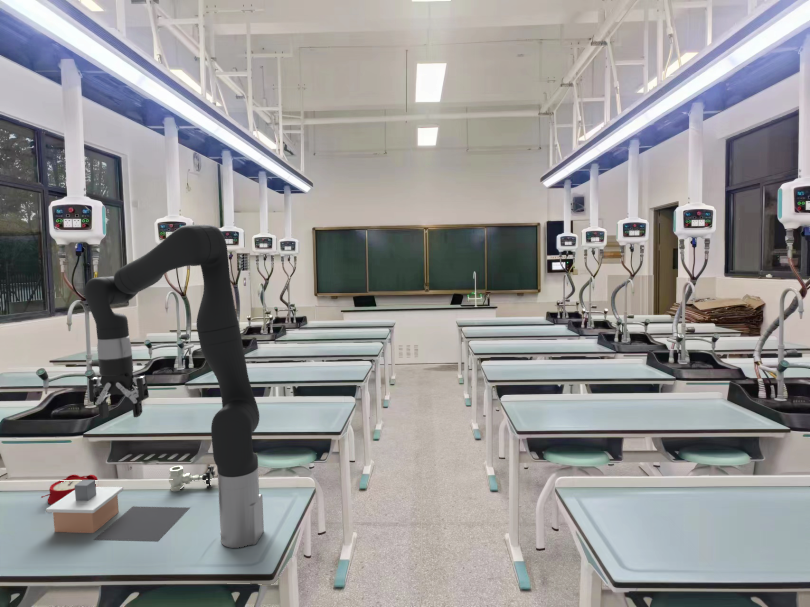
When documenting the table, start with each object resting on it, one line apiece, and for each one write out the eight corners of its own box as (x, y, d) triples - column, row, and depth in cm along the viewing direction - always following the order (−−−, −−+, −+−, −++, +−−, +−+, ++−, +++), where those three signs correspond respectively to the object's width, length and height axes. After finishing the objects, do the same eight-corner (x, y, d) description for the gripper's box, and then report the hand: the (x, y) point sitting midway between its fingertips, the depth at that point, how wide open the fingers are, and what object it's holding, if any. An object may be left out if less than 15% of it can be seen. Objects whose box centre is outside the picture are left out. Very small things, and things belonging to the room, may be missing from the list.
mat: (190, 508, 137) (190, 507, 137) (158, 542, 122) (158, 541, 122) (132, 507, 138) (132, 506, 138) (93, 541, 123) (93, 539, 123)
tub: (118, 513, 136) (117, 491, 135) (93, 534, 126) (91, 510, 125) (82, 512, 136) (80, 491, 136) (54, 533, 126) (52, 510, 126)
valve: (166, 496, 145) (209, 493, 147) (164, 473, 145) (208, 471, 146) (173, 485, 152) (215, 482, 153) (172, 464, 151) (214, 461, 152)
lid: (123, 490, 136) (122, 472, 135) (93, 513, 124) (91, 494, 123) (80, 489, 137) (78, 472, 136) (46, 512, 125) (44, 493, 124)
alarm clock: (34, 495, 139) (69, 461, 153) (40, 514, 141) (74, 479, 155) (72, 495, 138) (104, 461, 153) (77, 514, 140) (108, 479, 155)
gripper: (150, 351, 134) (155, 411, 135) (97, 352, 134) (103, 412, 136) (133, 357, 126) (139, 421, 128) (78, 358, 127) (84, 422, 129)
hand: (121, 416), depth 132 cm, fingers open, 8 cm apart
